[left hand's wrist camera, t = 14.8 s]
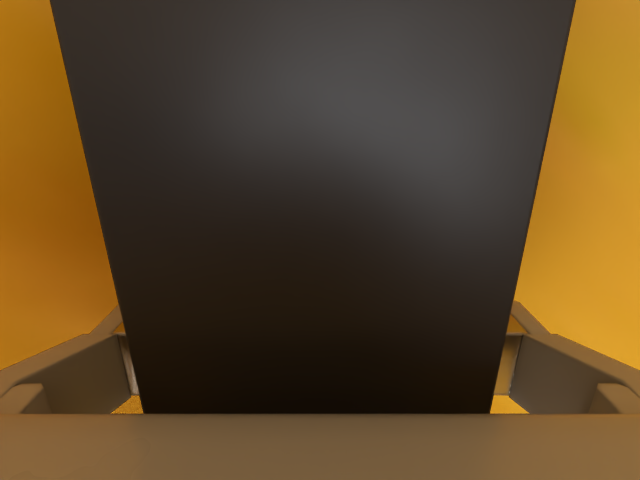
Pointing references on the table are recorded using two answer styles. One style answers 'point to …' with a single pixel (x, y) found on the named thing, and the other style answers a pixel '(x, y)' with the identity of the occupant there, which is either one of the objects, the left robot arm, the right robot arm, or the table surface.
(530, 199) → the box
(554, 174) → the table surface
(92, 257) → the table surface
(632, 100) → the table surface
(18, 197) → the table surface
